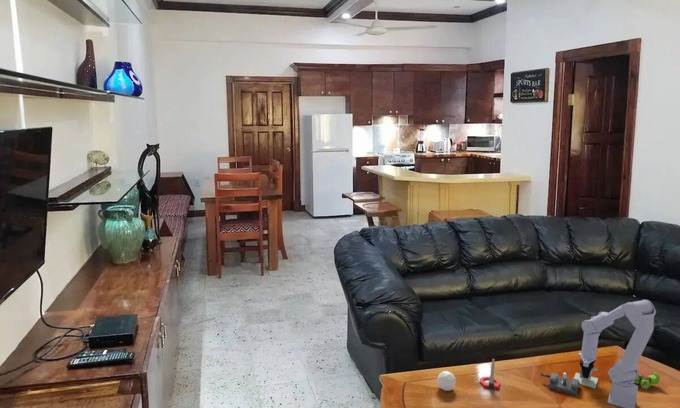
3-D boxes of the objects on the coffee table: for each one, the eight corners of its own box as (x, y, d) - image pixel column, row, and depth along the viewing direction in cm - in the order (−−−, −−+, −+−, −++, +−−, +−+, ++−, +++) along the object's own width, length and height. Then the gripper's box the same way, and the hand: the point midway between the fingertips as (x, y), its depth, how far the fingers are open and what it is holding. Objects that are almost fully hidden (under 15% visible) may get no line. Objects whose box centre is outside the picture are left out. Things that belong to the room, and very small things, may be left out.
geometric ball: (449, 393, 220) (462, 380, 218) (443, 396, 213) (456, 382, 211) (436, 379, 223) (448, 366, 222) (430, 381, 216) (443, 367, 215)
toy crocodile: (609, 383, 226) (610, 370, 225) (606, 376, 232) (607, 363, 231) (660, 391, 221) (662, 378, 220) (655, 383, 227) (657, 370, 226)
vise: (579, 386, 223) (581, 372, 221) (576, 396, 215) (577, 381, 214) (542, 376, 230) (543, 362, 229) (538, 385, 223) (539, 371, 222)
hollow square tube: (596, 378, 227) (598, 367, 226) (595, 382, 223) (596, 371, 222) (581, 373, 230) (582, 363, 229) (579, 377, 226) (581, 367, 225)
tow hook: (478, 378, 228) (480, 388, 219) (480, 350, 227) (483, 359, 218) (498, 380, 227) (501, 390, 218) (500, 352, 225) (504, 361, 216)
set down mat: (598, 379, 229) (598, 378, 229) (595, 388, 221) (595, 387, 221) (575, 373, 233) (575, 372, 233) (572, 382, 226) (572, 381, 226)
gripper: (582, 337, 232) (578, 365, 235) (576, 350, 220) (573, 379, 223) (599, 341, 229) (595, 370, 231) (595, 354, 217) (591, 384, 219)
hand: (586, 375), depth 227 cm, fingers closed on hollow square tube, 4 cm apart
